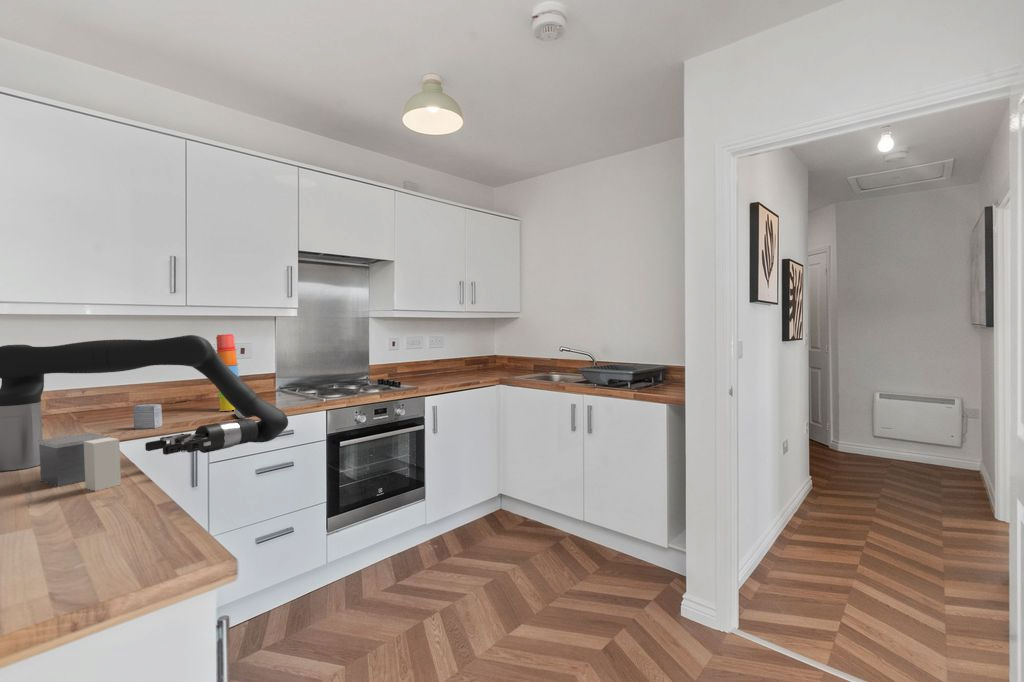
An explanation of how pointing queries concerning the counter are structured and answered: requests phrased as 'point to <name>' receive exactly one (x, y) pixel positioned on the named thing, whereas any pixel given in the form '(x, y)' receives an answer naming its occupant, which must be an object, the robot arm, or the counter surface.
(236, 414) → the grey rock
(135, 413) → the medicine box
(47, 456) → the block
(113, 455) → the cream block
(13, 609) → the counter surface
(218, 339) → the stacking cups
